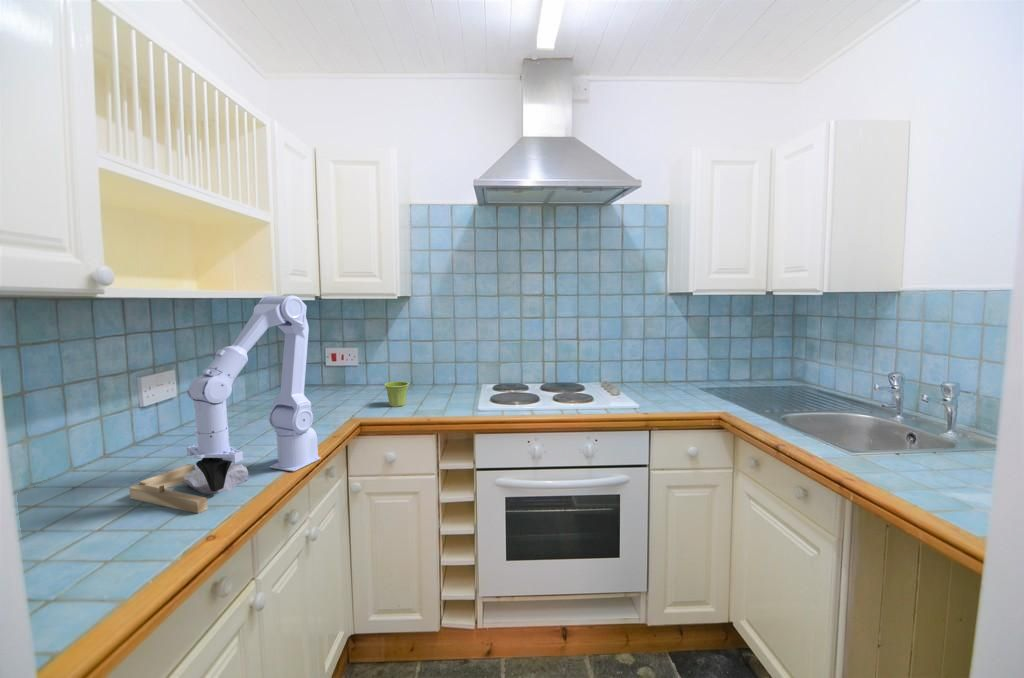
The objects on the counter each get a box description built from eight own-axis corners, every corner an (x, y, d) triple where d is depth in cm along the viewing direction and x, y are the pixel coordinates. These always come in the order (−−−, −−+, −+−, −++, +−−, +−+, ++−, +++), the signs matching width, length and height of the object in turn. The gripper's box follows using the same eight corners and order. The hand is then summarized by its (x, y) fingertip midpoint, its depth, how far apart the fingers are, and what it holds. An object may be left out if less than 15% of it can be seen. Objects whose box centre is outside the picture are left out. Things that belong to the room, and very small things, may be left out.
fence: (189, 475, 111) (188, 461, 111) (253, 487, 104) (252, 472, 104) (130, 498, 99) (128, 482, 98) (198, 513, 92) (196, 496, 91)
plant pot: (412, 402, 183) (412, 381, 182) (405, 408, 174) (404, 386, 173) (390, 402, 184) (389, 381, 183) (381, 408, 175) (380, 386, 174)
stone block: (216, 504, 100) (253, 478, 109) (210, 485, 99) (248, 460, 108) (179, 498, 104) (218, 473, 113) (172, 480, 103) (212, 457, 112)
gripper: (170, 432, 97) (176, 492, 98) (219, 439, 92) (224, 502, 94) (202, 423, 104) (207, 479, 105) (249, 429, 99) (253, 488, 100)
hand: (217, 489), depth 100 cm, fingers closed
